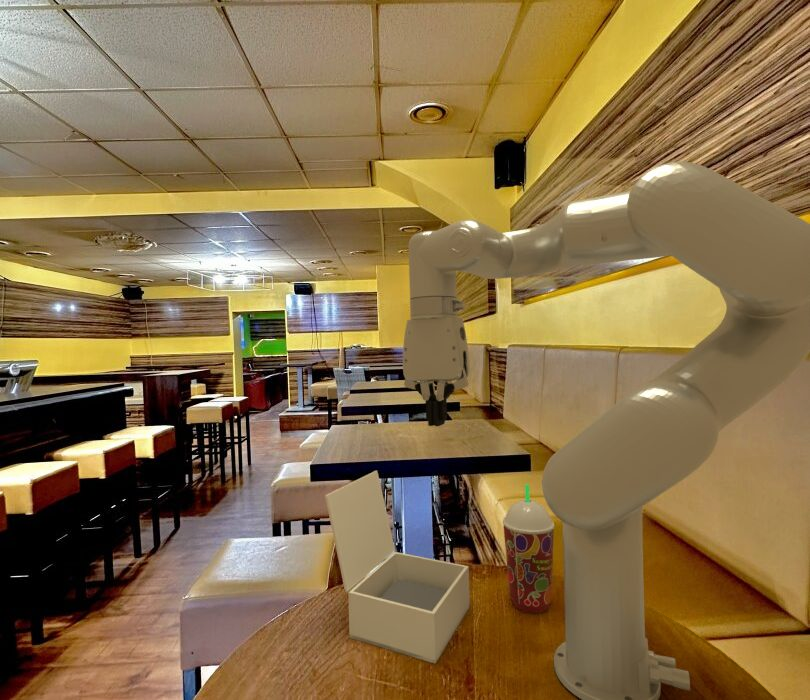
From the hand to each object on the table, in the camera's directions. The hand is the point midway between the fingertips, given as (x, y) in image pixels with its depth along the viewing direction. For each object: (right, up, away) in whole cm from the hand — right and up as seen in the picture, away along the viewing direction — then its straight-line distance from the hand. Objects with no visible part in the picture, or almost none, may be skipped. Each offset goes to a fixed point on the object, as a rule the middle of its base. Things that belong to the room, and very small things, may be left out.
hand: (436, 424), depth 72 cm
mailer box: (-4, -31, -1) cm, 31 cm away
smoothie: (+16, -31, +3) cm, 35 cm away
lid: (-12, -17, +3) cm, 21 cm away
